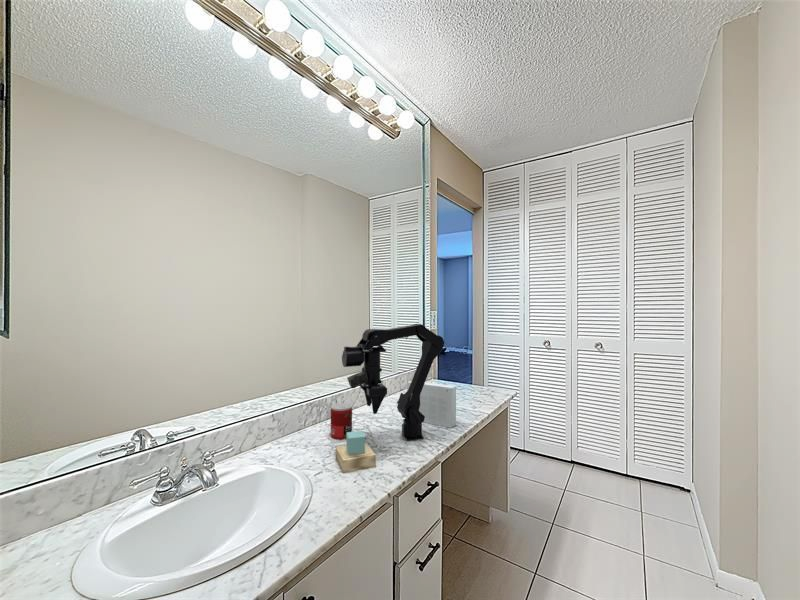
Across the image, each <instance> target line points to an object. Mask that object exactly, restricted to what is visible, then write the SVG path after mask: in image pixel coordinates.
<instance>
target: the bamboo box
mask: <svg viewBox="0 0 800 600" xmlns="http://www.w3.org/2000/svg"><path fill="white" fill-rule="evenodd" d="M334 452H335V453H334V454H335V455H334V456H335V457H334V458H335V461H336V462H337V464H338V466H339V468H340V469H341V472H342V474H346V473H347V474H348V473H351V472H356V471H360V470H361V471H362V470H366V469H372V468H376V466H377V453H375V451H373V449H372V448H371V447H370V446H369V444H368V443H367V441H365V453H364V454H355V455H348V453H347V449H346V445H341V446H335V451H334Z"/></svg>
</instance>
